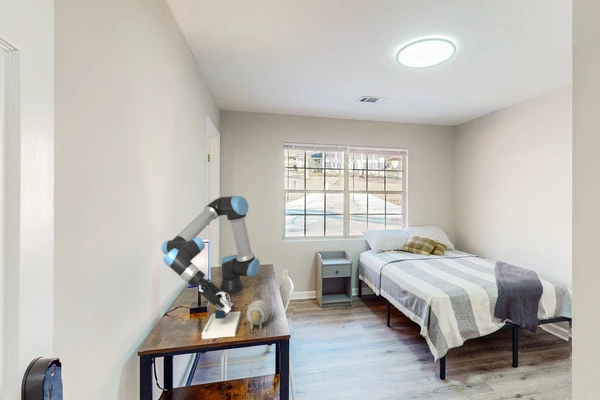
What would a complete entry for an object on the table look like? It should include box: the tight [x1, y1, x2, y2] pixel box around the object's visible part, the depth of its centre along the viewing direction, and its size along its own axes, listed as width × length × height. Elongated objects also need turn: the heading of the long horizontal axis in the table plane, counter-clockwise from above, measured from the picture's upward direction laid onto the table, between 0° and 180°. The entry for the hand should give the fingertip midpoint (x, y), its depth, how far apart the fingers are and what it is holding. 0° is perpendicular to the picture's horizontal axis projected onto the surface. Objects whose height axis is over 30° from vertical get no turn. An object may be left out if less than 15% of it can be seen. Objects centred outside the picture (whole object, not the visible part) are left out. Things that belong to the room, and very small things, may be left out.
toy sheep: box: [246, 299, 270, 330], centre depth 121 cm, size 11×17×11 cm, turn 1°
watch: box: [214, 292, 232, 319], centre depth 120 cm, size 6×8×11 cm
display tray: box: [201, 310, 242, 340], centre depth 120 cm, size 20×14×2 cm
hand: (230, 308), depth 120 cm, fingers closed on watch, 5 cm apart
